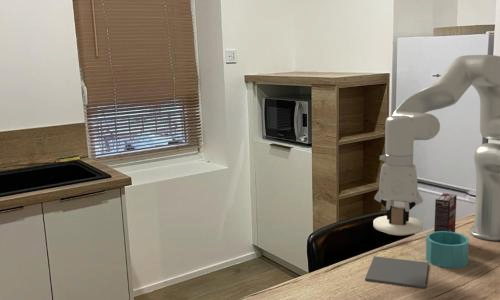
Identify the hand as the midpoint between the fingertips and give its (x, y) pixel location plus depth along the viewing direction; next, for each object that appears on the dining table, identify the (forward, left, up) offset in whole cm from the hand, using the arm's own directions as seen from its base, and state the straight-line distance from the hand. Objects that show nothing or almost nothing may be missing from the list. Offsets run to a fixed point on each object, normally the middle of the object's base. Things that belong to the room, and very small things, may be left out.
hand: (397, 222), depth 139 cm
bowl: (-13, +13, -15) cm, 24 cm away
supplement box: (-27, +12, -16) cm, 34 cm away
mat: (0, 0, -15) cm, 15 cm away
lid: (0, 0, -1) cm, 1 cm away
